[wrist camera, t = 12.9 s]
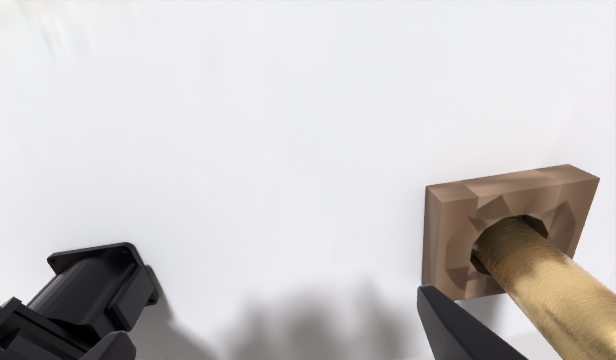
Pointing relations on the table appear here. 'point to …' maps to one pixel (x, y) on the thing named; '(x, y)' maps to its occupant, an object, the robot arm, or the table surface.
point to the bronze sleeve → (550, 290)
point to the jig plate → (490, 209)
